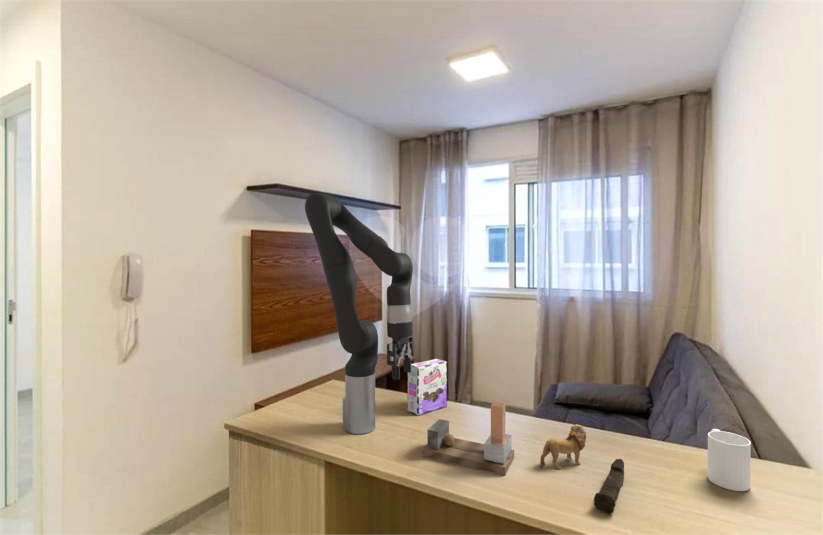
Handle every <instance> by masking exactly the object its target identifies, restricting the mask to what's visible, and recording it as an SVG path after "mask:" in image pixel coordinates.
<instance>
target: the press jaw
mask: <svg viewBox="0 0 823 535" xmlns="http://www.w3.org/2000/svg"><path fill="white" fill-rule="evenodd" d="M483 444H484V460H488V461H493V462H497V463H502V464H504V463H505V461H506V460H507V458H508V456H509V454H510V452H511V450H513V449H512V448H513V447H512V446H513V445H512V444H513V442H512V434H509V433H506V403H505V402H504V403H503V402H499V401H493V402H492V403H491V404H490V435H489V436H488V438H486V440H485V442H484V443H483Z"/></svg>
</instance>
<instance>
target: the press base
mask: <svg viewBox="0 0 823 535" xmlns="http://www.w3.org/2000/svg"><path fill="white" fill-rule="evenodd" d="M447 434H450V421H449V420H445V419H441V418H439V419H438V420H436V421H435V422H434V423H433V424H432V425H430V426H429V428H428V429H427V444H426V445H425V446H424V447H423V448H422V457H423V458H427V459H430V460H431V459H432V460H436V461H440V462H444V463H449V464H453V465H456V466H457V465H458V466H462V467H466V468H470V469H475V470H478V471H482V472H483V471H484V472H487V473H492V474H495V475H501V476H505V477H506V475H507V473H508V471H509V470H510V468H511V465H512V464H513V462H514V459H515V449H512V450H511V452H510V454H509V456H508V458H507V460H506V461H505V463H504V464H502V463H497V462H493V461H488V460H484V443H481V442H475V441H471V440H465V439H461V438H456V437H454V439H455V442H454V444H453V445H452V446H447V445H446V444H445V443H444V437H445V435H447Z"/></svg>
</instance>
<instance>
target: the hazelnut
mask: <svg viewBox="0 0 823 535" xmlns="http://www.w3.org/2000/svg"><path fill="white" fill-rule="evenodd" d="M454 438H455V437H454V435H453V434H451V433H449V434H447V435H445V437H444V443H445V444H446V445H447V446H452V445H453V444H454V442H455V439H454Z"/></svg>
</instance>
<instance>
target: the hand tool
mask: <svg viewBox="0 0 823 535" xmlns="http://www.w3.org/2000/svg"><path fill="white" fill-rule="evenodd" d="M607 474H608V475H607V476H606V478H605V480H604V482H603V483H602V485H601V487H600V490H599V492H596V493H595V495H594V497H593V505H594V507H595V508H596V510H598V511H600V512H603V513H605V514H613V513H614V511H615V508H616V501H617V500H618V497H619V494H620V491H621V488H622V486H623V485H624V482H625V462H624V460H623V459H622V458H615V460H614V461H613V462H612V463H611V465H610V470H609V472H608V473H607Z"/></svg>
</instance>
